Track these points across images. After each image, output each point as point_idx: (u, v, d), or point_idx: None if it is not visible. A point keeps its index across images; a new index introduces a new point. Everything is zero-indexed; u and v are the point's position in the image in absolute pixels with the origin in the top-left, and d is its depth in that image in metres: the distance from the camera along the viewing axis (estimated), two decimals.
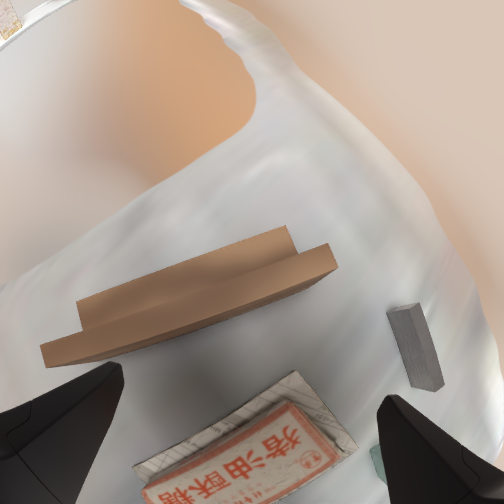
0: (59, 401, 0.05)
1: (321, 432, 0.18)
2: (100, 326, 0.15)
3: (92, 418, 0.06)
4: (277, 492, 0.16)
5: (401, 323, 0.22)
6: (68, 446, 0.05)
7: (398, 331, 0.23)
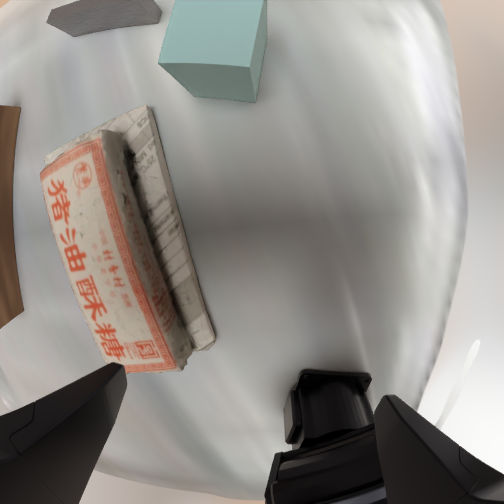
0: (62, 402, 0.05)
1: (62, 154, 0.14)
2: None
3: (95, 419, 0.06)
4: (110, 231, 0.15)
5: (71, 26, 0.13)
6: (71, 448, 0.05)
7: (85, 29, 0.14)
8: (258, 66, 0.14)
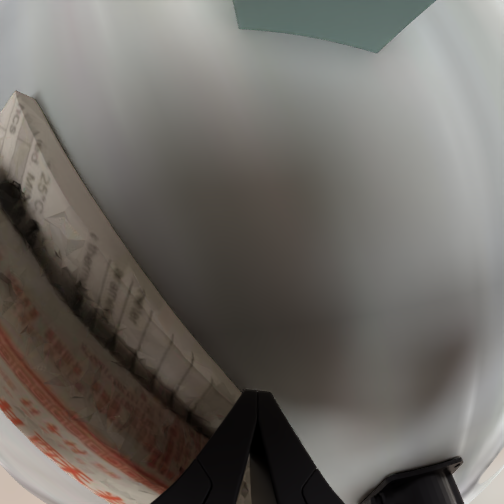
0: (223, 448, 0.05)
1: None
2: None
3: None
4: (6, 366, 0.05)
5: None
6: None
7: None
8: None
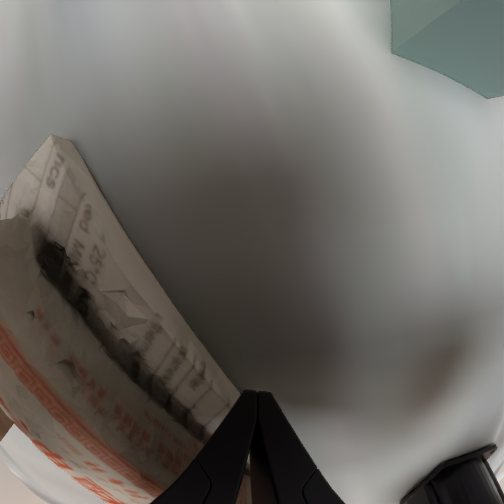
0: (223, 449, 0.05)
1: None
2: None
3: None
4: (75, 440, 0.05)
5: None
6: None
7: None
8: None
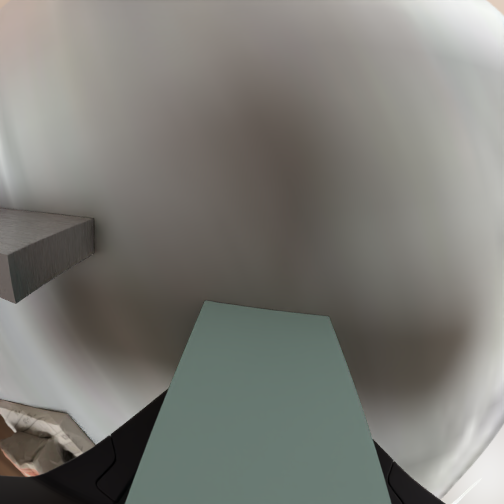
0: (140, 431, 0.05)
1: (10, 457, 0.09)
2: None
3: None
4: None
5: None
6: None
7: None
8: None
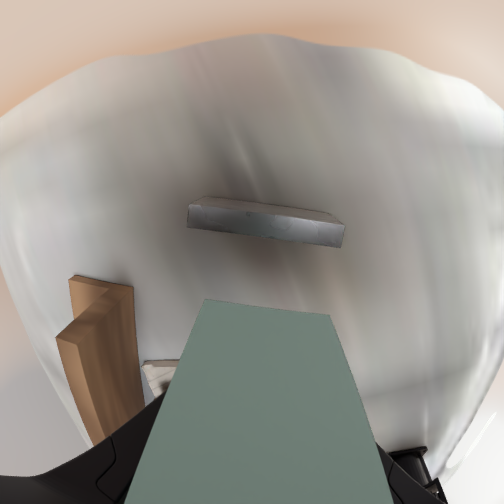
0: (140, 431, 0.05)
1: None
2: None
3: None
4: None
5: None
6: None
7: None
8: None
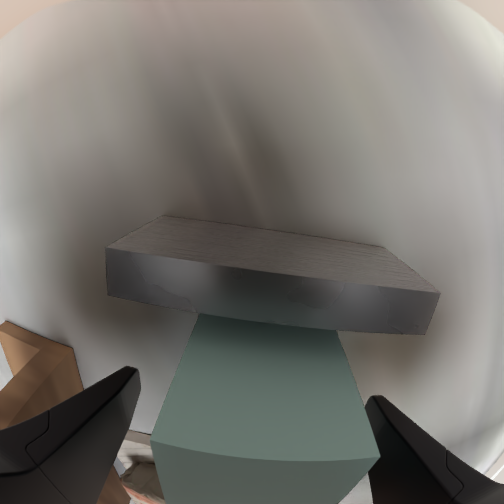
0: (77, 409, 0.05)
1: None
2: None
3: (111, 425, 0.06)
4: None
5: None
6: (88, 455, 0.05)
7: None
8: None
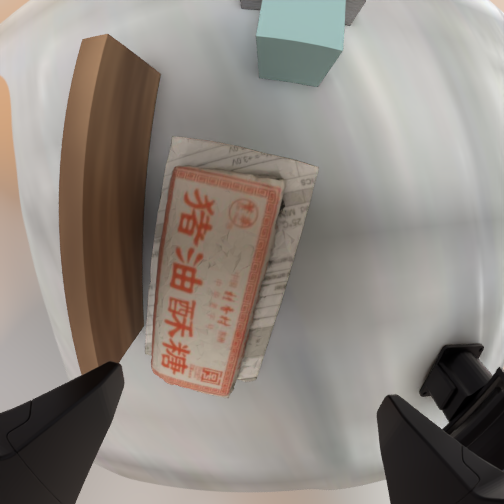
0: (59, 400, 0.05)
1: (227, 173, 0.15)
2: (68, 309, 0.14)
3: (92, 418, 0.06)
4: (246, 280, 0.17)
5: None
6: (68, 446, 0.05)
7: None
8: None
